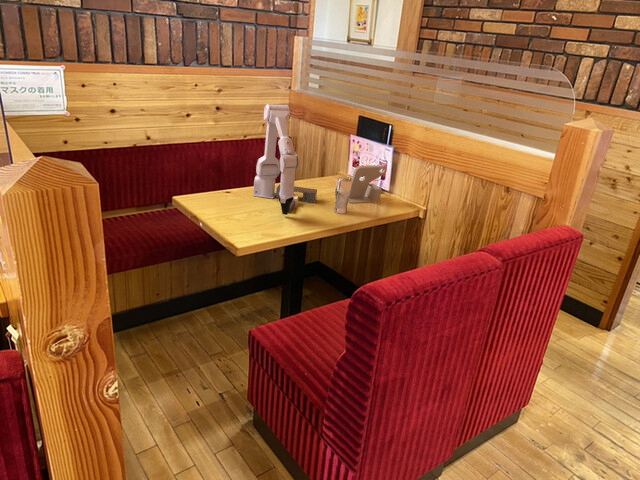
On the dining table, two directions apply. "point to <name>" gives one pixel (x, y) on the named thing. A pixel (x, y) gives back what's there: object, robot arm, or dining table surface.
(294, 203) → the plug
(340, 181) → the beer glass
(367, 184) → the phone holder
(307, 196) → the block
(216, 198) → the dining table surface
